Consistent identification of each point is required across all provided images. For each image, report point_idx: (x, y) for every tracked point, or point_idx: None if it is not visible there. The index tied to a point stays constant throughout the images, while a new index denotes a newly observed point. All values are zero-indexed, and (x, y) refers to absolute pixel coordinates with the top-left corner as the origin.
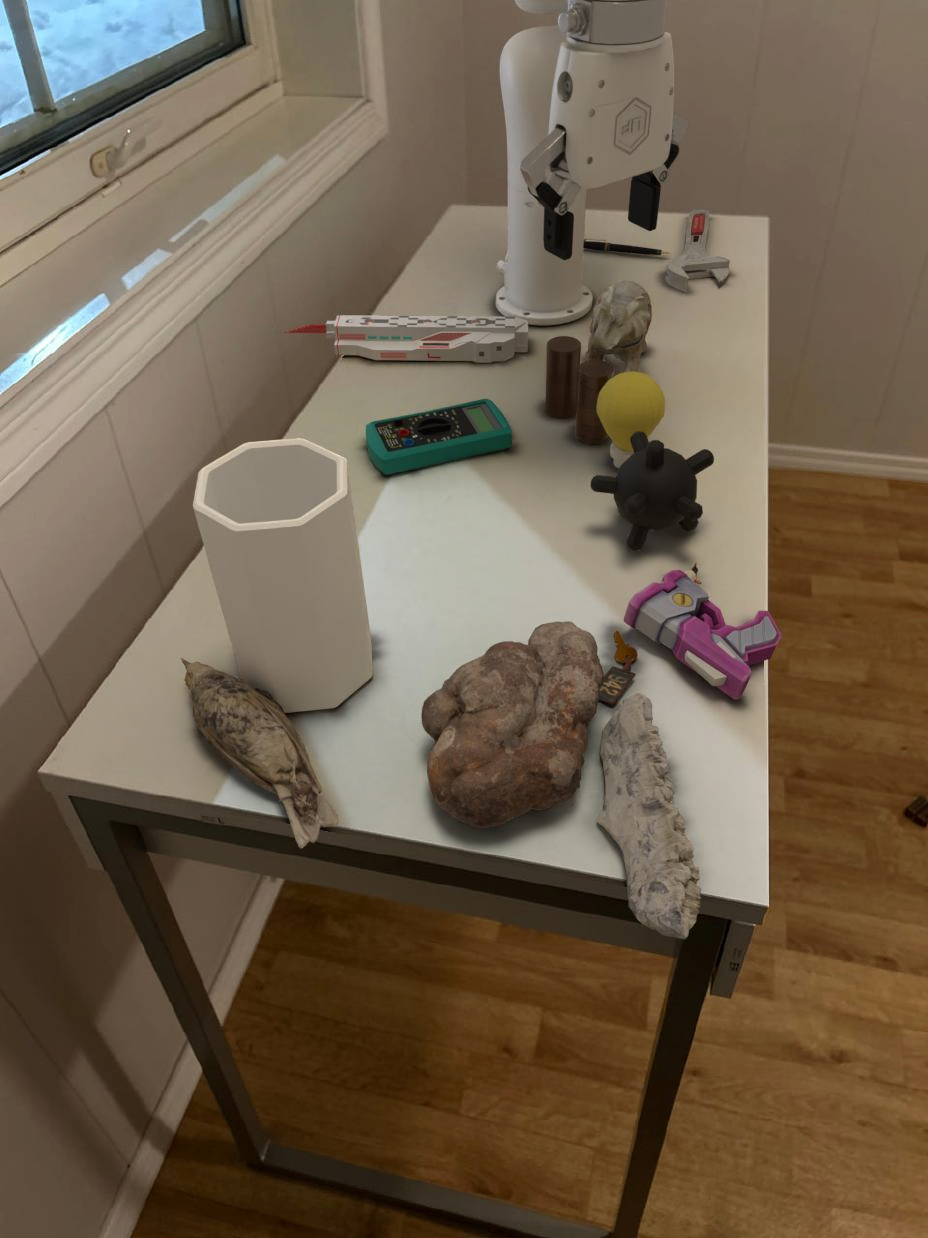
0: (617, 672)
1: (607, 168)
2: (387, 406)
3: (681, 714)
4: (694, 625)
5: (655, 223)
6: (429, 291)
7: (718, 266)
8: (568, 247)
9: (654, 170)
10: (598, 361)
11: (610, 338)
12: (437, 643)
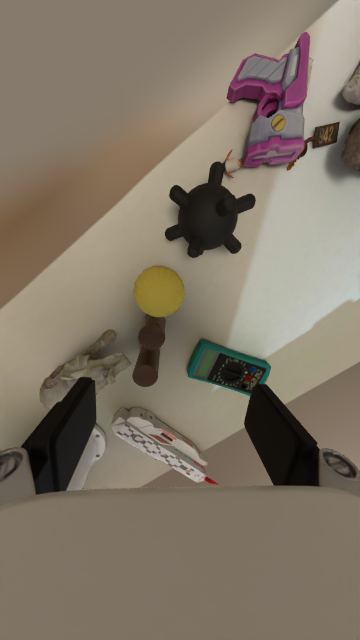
0: (317, 140)
1: (344, 564)
2: (218, 408)
3: (318, 86)
4: (295, 95)
5: (80, 381)
6: (122, 482)
7: None
8: (272, 394)
9: (26, 493)
10: (143, 343)
11: (113, 360)
12: (346, 238)
